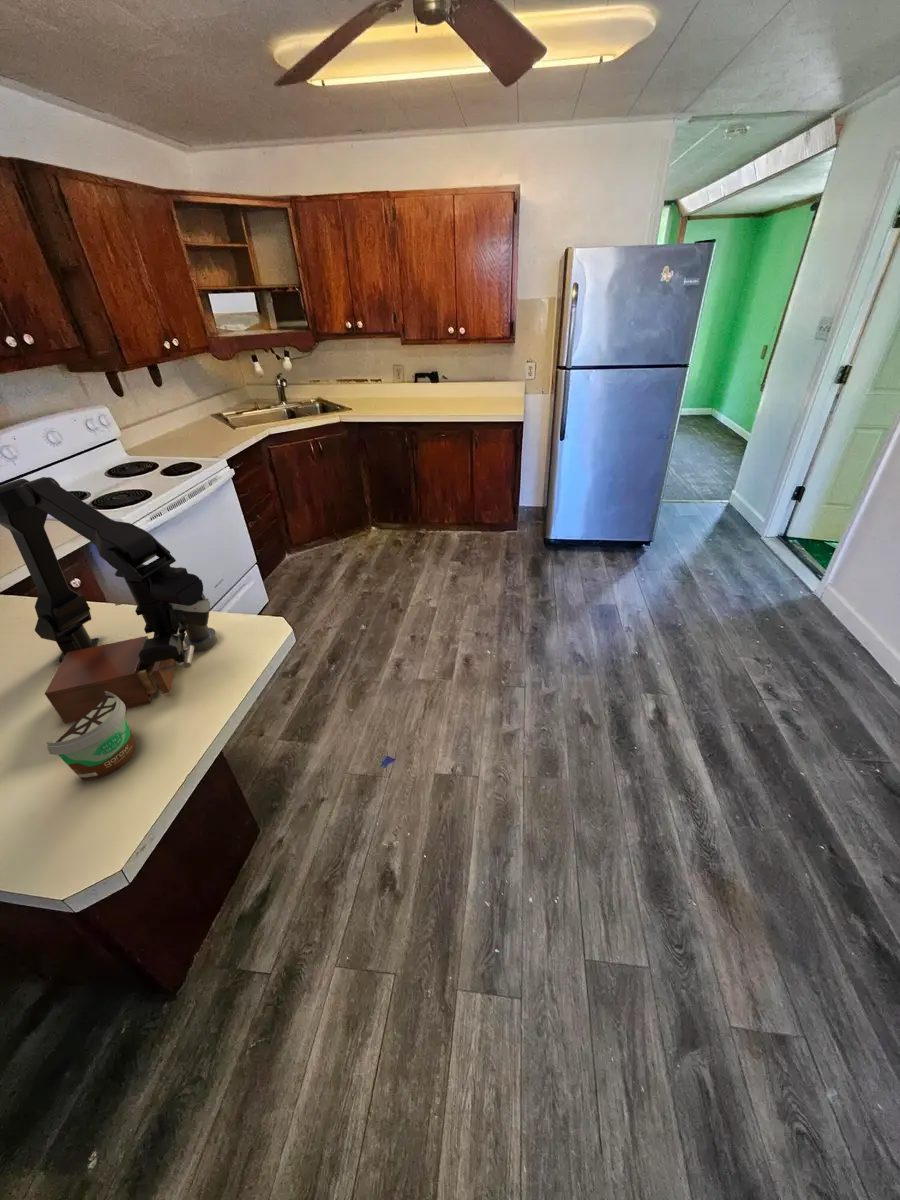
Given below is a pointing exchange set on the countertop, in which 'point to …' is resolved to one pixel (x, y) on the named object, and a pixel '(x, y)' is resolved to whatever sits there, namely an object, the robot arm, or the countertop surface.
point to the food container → (97, 740)
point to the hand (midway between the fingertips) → (182, 661)
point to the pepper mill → (197, 632)
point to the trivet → (203, 641)
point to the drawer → (162, 672)
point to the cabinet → (98, 678)
